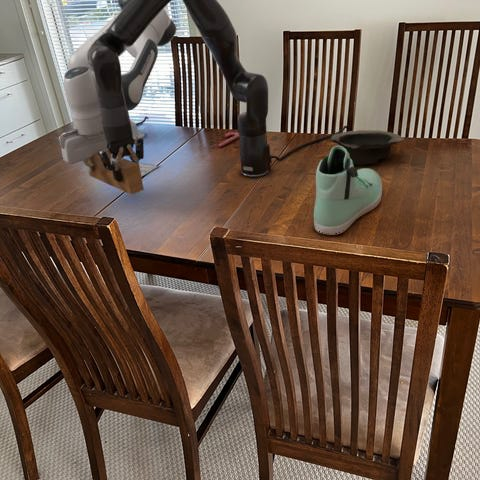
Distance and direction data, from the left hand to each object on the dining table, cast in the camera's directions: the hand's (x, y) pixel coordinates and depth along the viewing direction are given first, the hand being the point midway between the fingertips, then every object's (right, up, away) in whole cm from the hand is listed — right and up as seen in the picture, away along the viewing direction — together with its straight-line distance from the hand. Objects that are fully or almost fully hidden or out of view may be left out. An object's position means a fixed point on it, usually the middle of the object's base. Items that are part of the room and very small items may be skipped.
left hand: (99, 167), depth 151 cm
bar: (+6, -5, -4) cm, 9 cm away
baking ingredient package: (+7, +1, +21) cm, 22 cm away
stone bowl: (+89, +7, +20) cm, 91 cm away
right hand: (+11, -5, -11) cm, 16 cm away
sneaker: (+76, -14, -12) cm, 78 cm away
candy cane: (+39, +17, +43) cm, 61 cm away
